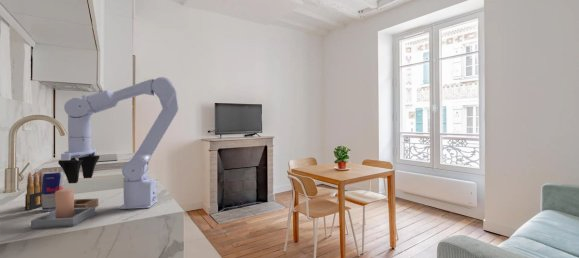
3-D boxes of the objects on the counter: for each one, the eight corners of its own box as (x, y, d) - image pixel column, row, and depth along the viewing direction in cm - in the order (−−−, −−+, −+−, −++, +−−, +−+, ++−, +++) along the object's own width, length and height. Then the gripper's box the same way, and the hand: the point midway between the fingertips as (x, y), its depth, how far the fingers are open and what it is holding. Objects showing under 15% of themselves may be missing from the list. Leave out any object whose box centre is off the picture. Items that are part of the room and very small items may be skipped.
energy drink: (51, 212, 82) (50, 173, 82) (37, 211, 83) (36, 173, 83) (68, 207, 88) (68, 170, 87) (55, 206, 89) (55, 170, 88)
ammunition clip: (57, 200, 95) (56, 167, 95) (62, 200, 95) (61, 167, 95) (24, 210, 84) (24, 172, 84) (30, 210, 84) (29, 173, 84)
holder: (98, 205, 89) (98, 198, 89) (85, 212, 82) (85, 204, 82) (75, 206, 88) (75, 199, 88) (60, 213, 81) (60, 205, 81)
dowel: (77, 215, 77) (77, 188, 77) (68, 220, 73) (67, 191, 73) (62, 216, 77) (61, 189, 77) (52, 221, 73) (51, 192, 73)
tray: (95, 213, 81) (94, 207, 81) (73, 226, 71) (73, 218, 71) (58, 215, 79) (58, 208, 79) (31, 228, 70) (30, 220, 70)
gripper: (79, 136, 90) (80, 176, 90) (48, 138, 75) (49, 186, 76) (102, 136, 91) (103, 175, 91) (76, 138, 77) (77, 185, 77)
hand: (80, 180), depth 84 cm, fingers open, 7 cm apart
